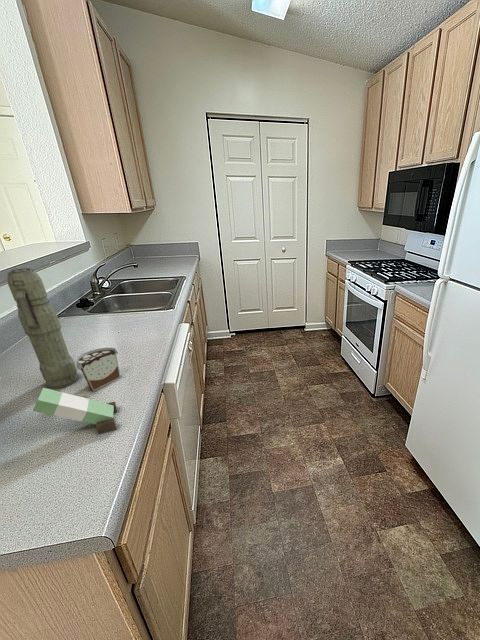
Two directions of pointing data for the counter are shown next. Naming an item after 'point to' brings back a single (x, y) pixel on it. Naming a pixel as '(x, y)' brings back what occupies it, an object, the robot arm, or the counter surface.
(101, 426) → the stand
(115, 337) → the counter surface
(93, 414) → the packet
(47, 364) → the moai statue
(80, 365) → the cake slice
